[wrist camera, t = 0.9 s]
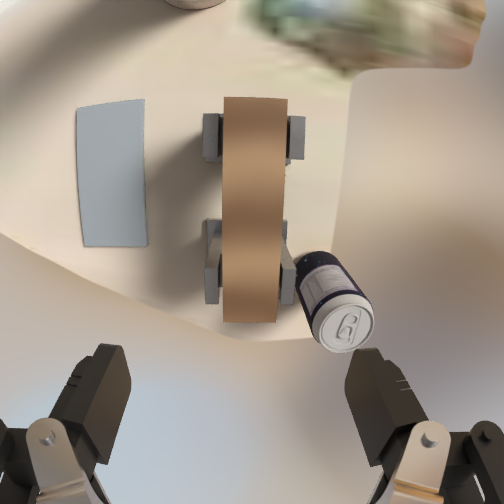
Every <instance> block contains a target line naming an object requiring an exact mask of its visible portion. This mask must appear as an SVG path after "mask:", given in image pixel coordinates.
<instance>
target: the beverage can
mask: <svg viewBox="0 0 504 504" xmlns="http://www.w3.org/2000/svg"><path fill="white" fill-rule="evenodd" d="M295 267H296V279H295V288H296V290H297V293H298V296H299V299H300V301H301V304H302V307H303V310H304V312H305V315H306V318H307V321H308V324H309V326H310V329H311V332H312V335H313V337H314V338H315V340H317V342H319V343H320V344H322V346H323V347H324V348H326V349H327V350H329V351H331V352H335V353H345V352H349V351H352V350H354V349H357V348H358V347H360V346H361V345H362V344H364V343H365V342H366V341H367V340H368V338H369V337H370V335H371V333H372V331H373V328H374V317H373V308H372V305H371V303H370V302H369V300H368V299H367V298H366V296H365V295H364V293H363V292H362V291H361V289H360V288H359V287H358V286H357V284H356V283H355V281H354V280H353V279H352V278H351V276H350V275H349V274H348V272H347V271H346V270H345V269H344V267H343V266H342V265H341V263H340V262H339V261H338V259H337V258H336V257H335V256H333V255H332V254H330V253H328V252H324V251H316V252H312V253H309V254H307V255H305V256H304V257H303V258H301V259H300V260H299V262H298V263H297V264H296V266H295Z"/></svg>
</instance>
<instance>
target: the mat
mask: <svg viewBox="0 0 504 504" xmlns="http://www.w3.org/2000/svg"><path fill="white" fill-rule="evenodd" d="M144 102H145V99H136V100H128V101H120V102H112V103H105V104H99V105H92V106H87V107H81V108H77V170H78V187H79V200H80V211H81V220H82V229H83V237H84V244H85V246H119V247H147V246H148V236H147V222H146V205H145V181H144Z"/></svg>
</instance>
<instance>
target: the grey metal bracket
mask: <svg viewBox="0 0 504 504" xmlns="http://www.w3.org/2000/svg"><path fill="white" fill-rule="evenodd" d="M223 120H224V114H218V113H214V114H203V157H207V162H223ZM304 144H305V117H301V116H287V134H286V161H285V164H290V163H291V159H298V160H304Z"/></svg>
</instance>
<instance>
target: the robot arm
mask: <svg viewBox="0 0 504 504" xmlns="http://www.w3.org/2000/svg"><path fill="white" fill-rule="evenodd" d="M165 1H166V2H168V3H169V4H171V5H173V6H175V7H178V8H183V9H203V8H208V7H211V6H215V5H217V4H219V3H221V2H223V1H225V0H165ZM130 392H131V377H130V373H129V369H128V366H127V362H126V358H125V355H124V351H123V348H122V346H119V345H110V344H100V345H99V346H98V348H97V349H96V351H95V353H94V355H93V357H92V356H86V357H85V358H84V359H83V360H81V361H80V362H79V363H78V364H77V365H76V367H75V369H74V370H73V372H72V374H71V377H70V378H69V380H68V381H67V385H66V386H65V387H64V389H63V390H62V392H61V394H60V396H59V398H58V400H57V402H56V404H55V406H54V408H53V409H52V411H51V413H50V415H49V417H48V418H42V419H39V420H37V421H35V422H34V423H32V424H31V426H30V427H29V428H28V429H21V428H7V427H6V425H5V424H4V423H3V421H2V420H1V419H0V477H1V474H2V472H4V474H3V477H2V480H1V483H0V504H36V503H37V504H111V502H110V501H109V499H108V497H107V495H106V493H105V491H104V489H103V487H102V485H101V483H100V481H99V479H98V478H97V475H96V473H95V471H94V469H95V466H96V463H101V464H105V465H108V462H109V458H110V455H111V451H112V448H113V445H114V442H115V438H116V435H117V432H118V429H119V425H120V422H121V419H122V416H123V413H124V410H125V407H126V404H127V401H128V398H129V395H130ZM345 395H346V398H347V401H348V404H349V407H350V409H351V412H352V415H353V418H354V421H355V424H356V426H357V429H358V432H359V435H360V438H361V441H362V443H363V447H364V450H365V453H366V455H367V459H368V462H369V465H370V467H373V466H377V465H382V467H383V470H384V471H383V472H382V473H381V476H380V478H379V480H378V482H377V484H376V486H375V488H374V490H373V492H372V495H371V496H370V498H369V500H368V502H367V504H504V434H503V432H502V430H501V429H500V428H499V427H498V426H497V425H496V424H495V423H493V422H490V421H480V422H478V423H477V424H475V425H474V426H473V428H472V429H471V430H470V432H448V430H447V429H446V428H445V427H444V426H443V425H441V424H440V423H438V422H434V421H429V419H428V418H427V416H426V414H425V412H424V411H423V409H422V407H421V405H420V403H419V401H418V400H417V398H416V396H415V394H414V392H413V391H412V390H411V389H410V385H409V384H408V382H407V381H406V379H405V377H404V375H403V374H402V372H401V370H400V368H398V367H397V366H396V365H395V364H394V363H392V362H391V361H390V360H386V361H384V359H383V357H382V356H381V354H380V352H379V350H378V349H377V348H365V349H356V350H355V351H354V353H353V356H352V359H351V363H350V366H349V369H348V373H347V376H346V379H345ZM475 474H476V476H477V478H478V481H479V483H480V486H481V488H482V490H483V493H484V496H485V502H484V501H483V498H482V496H481V493H480V491H479V488H478V486H477V484H476V481H475V479H474V477H473V476H474V475H475ZM39 492H40V494H39Z"/></svg>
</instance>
